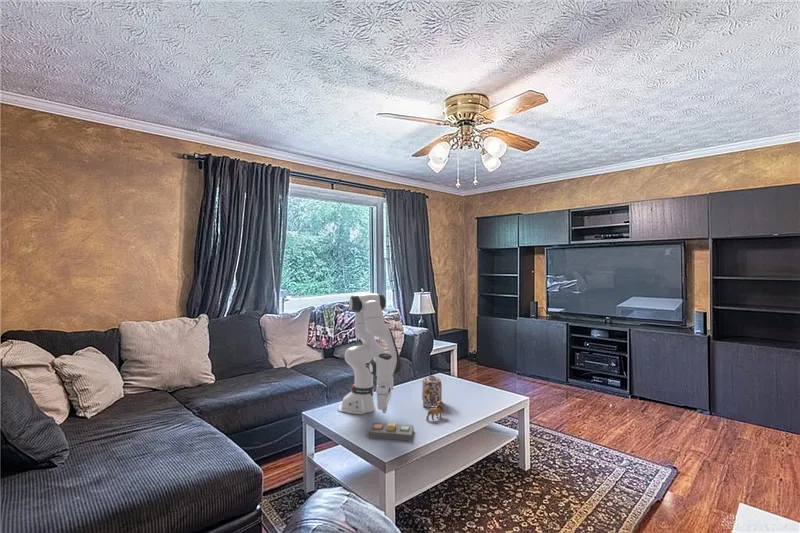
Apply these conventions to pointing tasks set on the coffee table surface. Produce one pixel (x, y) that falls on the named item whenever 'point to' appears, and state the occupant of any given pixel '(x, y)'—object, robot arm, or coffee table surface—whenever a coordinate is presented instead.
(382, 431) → the button panel
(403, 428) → the sage button
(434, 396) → the decorative jar
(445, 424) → the coffee table surface
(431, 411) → the lion figurine
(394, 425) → the ochre button
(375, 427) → the terracotta button
